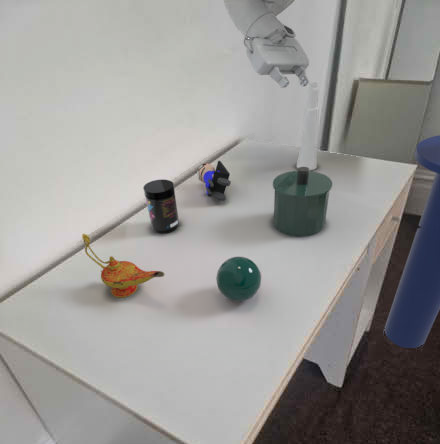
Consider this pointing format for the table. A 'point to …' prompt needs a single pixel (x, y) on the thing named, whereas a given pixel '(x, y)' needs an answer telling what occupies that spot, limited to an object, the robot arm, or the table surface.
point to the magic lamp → (121, 274)
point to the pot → (300, 214)
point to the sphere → (238, 279)
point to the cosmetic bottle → (310, 130)
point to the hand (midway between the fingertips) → (296, 85)
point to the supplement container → (162, 205)
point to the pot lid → (302, 183)
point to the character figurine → (214, 180)
